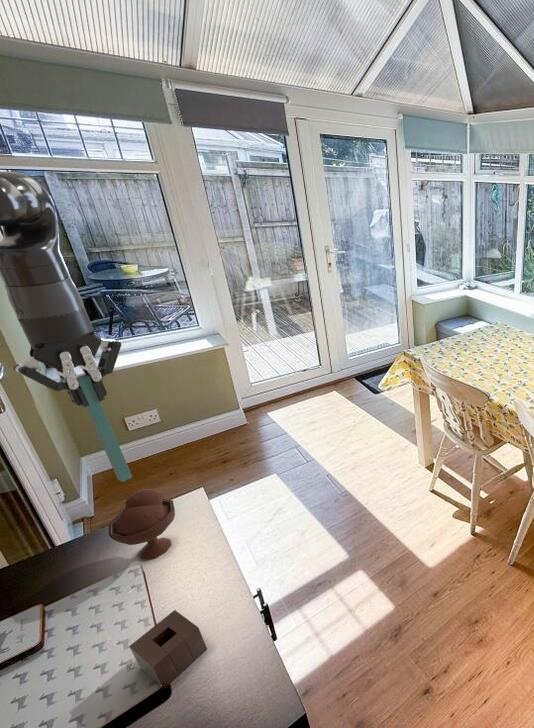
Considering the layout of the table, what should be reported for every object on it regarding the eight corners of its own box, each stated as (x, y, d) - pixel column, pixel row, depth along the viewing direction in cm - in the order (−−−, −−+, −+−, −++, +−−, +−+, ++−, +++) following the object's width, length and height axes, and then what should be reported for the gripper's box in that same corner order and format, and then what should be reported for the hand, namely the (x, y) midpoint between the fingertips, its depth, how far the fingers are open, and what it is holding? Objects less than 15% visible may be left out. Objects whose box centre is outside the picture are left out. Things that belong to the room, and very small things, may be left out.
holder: (164, 689, 67) (152, 666, 64) (140, 668, 69) (128, 646, 67) (207, 649, 72) (198, 627, 70) (184, 631, 75) (174, 609, 72)
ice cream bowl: (133, 538, 93) (109, 486, 87) (192, 523, 97) (174, 473, 91) (113, 578, 84) (86, 523, 78) (180, 560, 88) (158, 507, 82)
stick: (122, 482, 78) (77, 380, 69) (117, 479, 79) (72, 378, 70) (132, 477, 79) (89, 376, 70) (127, 474, 80) (84, 374, 71)
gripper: (92, 294, 72) (126, 381, 79) (-25, 317, 61) (27, 416, 68) (116, 300, 69) (149, 390, 76) (-2, 326, 58) (50, 428, 65)
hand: (91, 402), depth 72 cm, fingers closed on stick, 1 cm apart
